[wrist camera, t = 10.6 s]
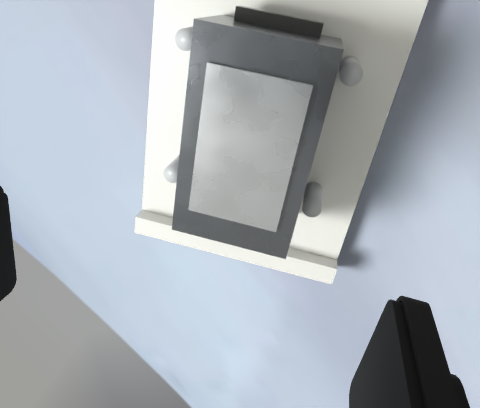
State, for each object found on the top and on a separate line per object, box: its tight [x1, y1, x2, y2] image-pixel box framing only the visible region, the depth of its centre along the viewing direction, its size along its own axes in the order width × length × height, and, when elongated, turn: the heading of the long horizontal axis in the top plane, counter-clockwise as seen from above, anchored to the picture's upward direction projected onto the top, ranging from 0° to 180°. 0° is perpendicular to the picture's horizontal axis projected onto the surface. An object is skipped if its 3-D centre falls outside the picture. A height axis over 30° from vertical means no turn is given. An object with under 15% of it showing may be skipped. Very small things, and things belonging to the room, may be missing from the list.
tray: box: [135, 0, 428, 284], centre depth 22 cm, size 13×18×4 cm
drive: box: [172, 6, 344, 259], centre depth 20 cm, size 6×11×5 cm, turn 170°
